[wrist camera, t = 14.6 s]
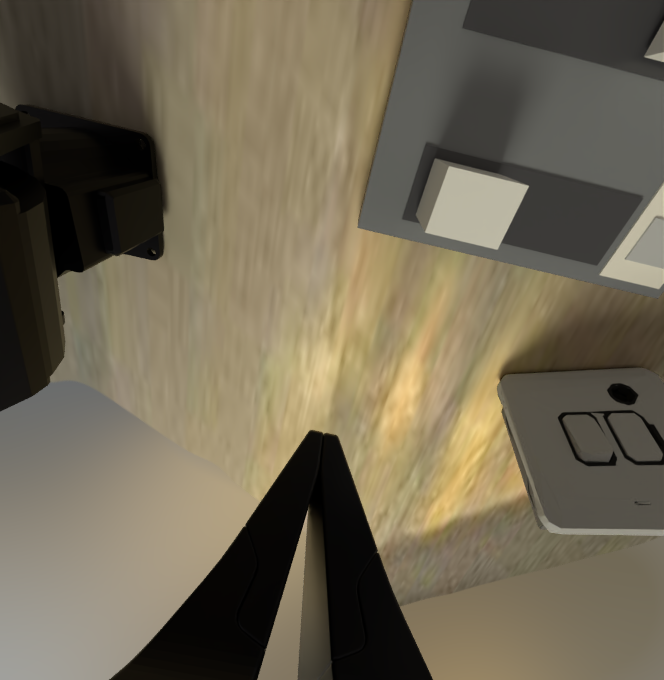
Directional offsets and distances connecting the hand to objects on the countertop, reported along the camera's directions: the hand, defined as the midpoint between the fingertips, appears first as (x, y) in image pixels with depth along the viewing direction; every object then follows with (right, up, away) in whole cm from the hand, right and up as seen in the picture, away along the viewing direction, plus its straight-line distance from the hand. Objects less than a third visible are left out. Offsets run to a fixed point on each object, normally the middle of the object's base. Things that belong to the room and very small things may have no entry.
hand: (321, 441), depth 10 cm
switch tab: (+6, +10, +5) cm, 12 cm away
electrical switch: (+17, -1, +14) cm, 22 cm away
